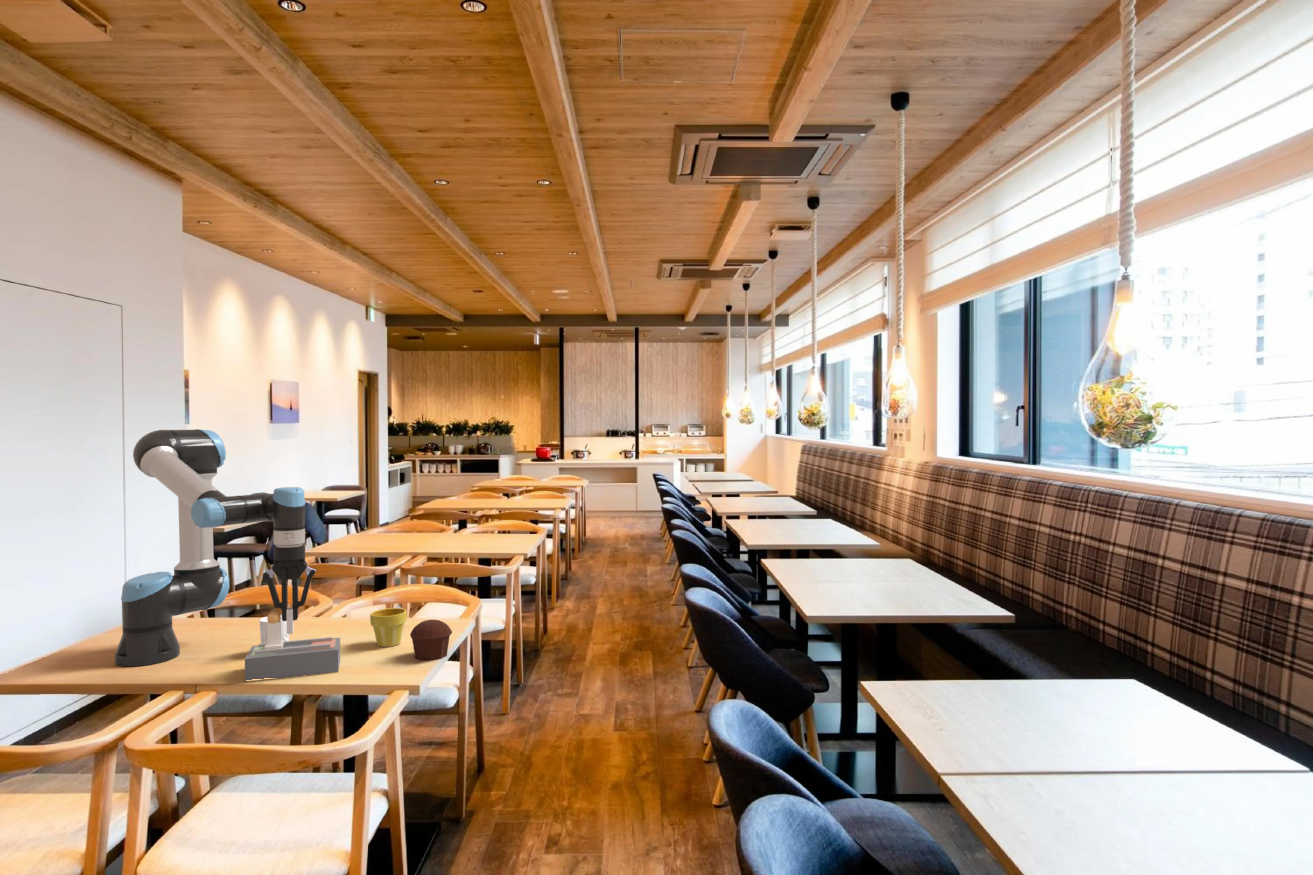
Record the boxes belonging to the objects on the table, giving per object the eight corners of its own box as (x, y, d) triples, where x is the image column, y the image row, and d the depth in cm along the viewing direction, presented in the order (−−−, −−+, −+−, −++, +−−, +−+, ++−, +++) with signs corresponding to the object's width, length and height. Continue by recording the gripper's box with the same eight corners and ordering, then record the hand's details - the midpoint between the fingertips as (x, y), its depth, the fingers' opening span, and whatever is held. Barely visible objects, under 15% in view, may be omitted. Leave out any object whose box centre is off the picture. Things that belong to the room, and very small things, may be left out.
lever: (267, 645, 198) (266, 610, 198) (283, 644, 200) (283, 609, 199) (264, 651, 194) (264, 614, 193) (281, 649, 195) (281, 613, 195)
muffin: (401, 659, 207) (401, 624, 207) (426, 648, 218) (426, 614, 217) (436, 664, 203) (436, 628, 203) (460, 652, 213) (460, 618, 213)
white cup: (295, 648, 217) (295, 615, 217) (279, 657, 209) (279, 622, 209) (270, 648, 218) (270, 614, 218) (253, 656, 210) (253, 621, 210)
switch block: (252, 667, 200) (252, 642, 200) (340, 658, 208) (340, 633, 208) (244, 682, 189) (244, 655, 189) (338, 671, 197) (337, 645, 197)
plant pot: (364, 644, 222) (363, 611, 221) (396, 636, 229) (396, 605, 229) (380, 651, 215) (380, 618, 214) (413, 643, 222) (413, 611, 222)
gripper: (260, 548, 192) (260, 638, 192) (315, 545, 196) (315, 633, 197) (264, 544, 199) (264, 631, 199) (317, 541, 203) (317, 626, 204)
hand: (290, 632), depth 198 cm, fingers closed
